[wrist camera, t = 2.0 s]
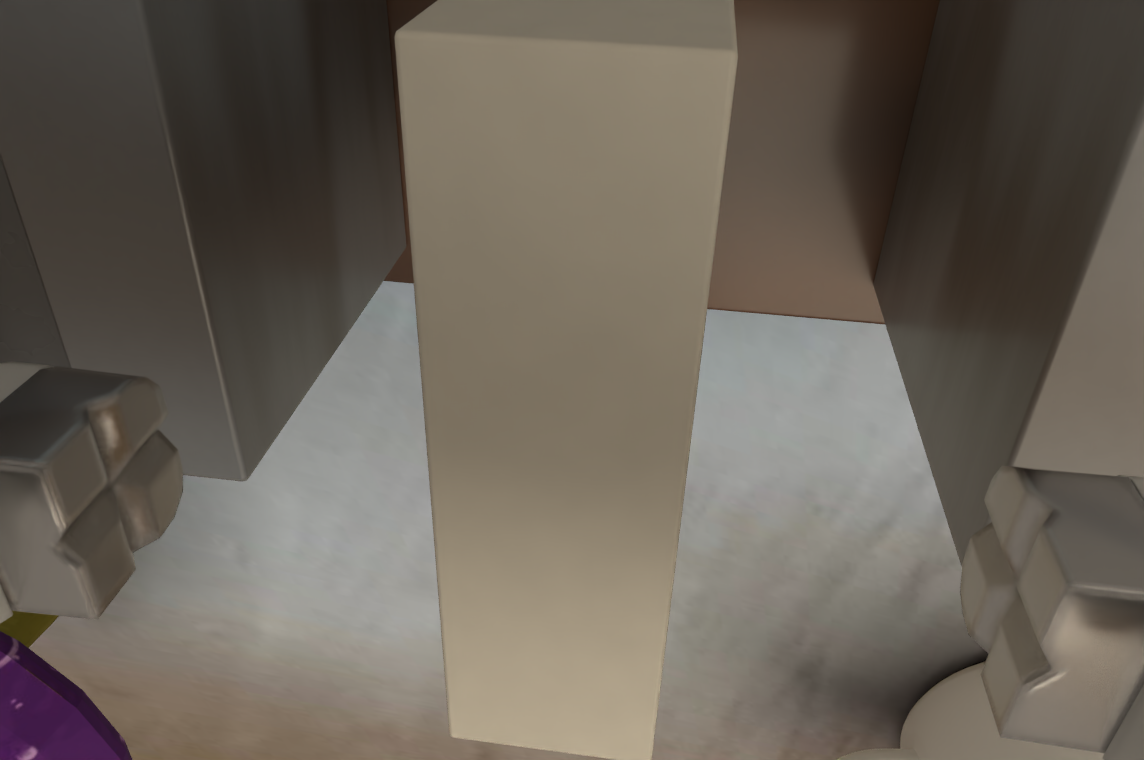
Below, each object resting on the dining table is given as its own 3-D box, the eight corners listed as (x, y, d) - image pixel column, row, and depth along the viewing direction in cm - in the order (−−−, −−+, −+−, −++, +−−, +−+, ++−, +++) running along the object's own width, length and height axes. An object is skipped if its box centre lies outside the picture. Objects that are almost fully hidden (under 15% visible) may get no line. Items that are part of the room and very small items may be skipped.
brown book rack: (102, -202, 18) (-508, -195, 9) (1135, -167, 16) (1663, -114, 7) (200, 248, 24) (-120, 531, 15) (984, 314, 22) (1174, 688, 13)
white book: (597, -122, 17) (392, 29, 6) (725, -116, 17) (739, 51, 6) (583, 262, 21) (448, 738, 11) (685, 270, 21) (650, 766, 10)
